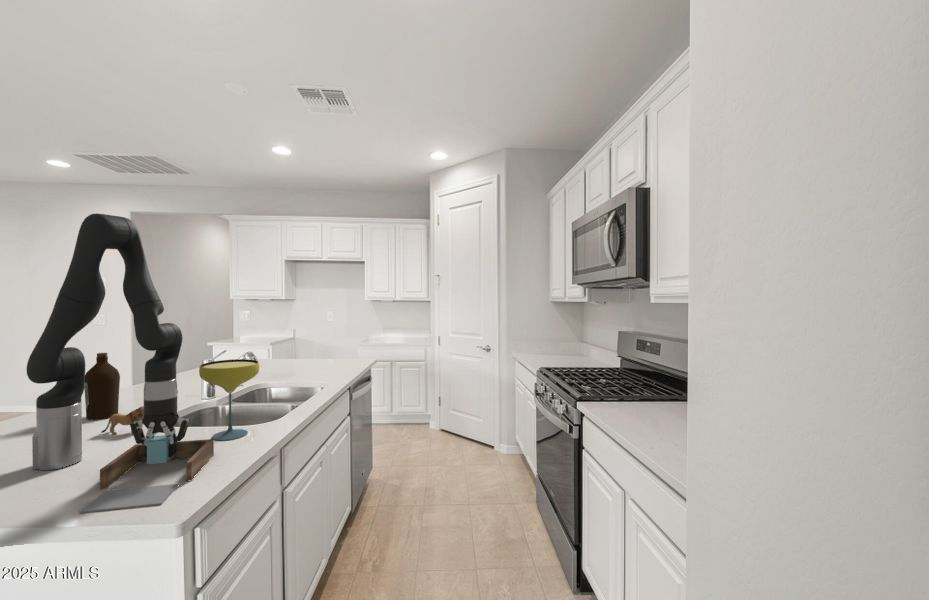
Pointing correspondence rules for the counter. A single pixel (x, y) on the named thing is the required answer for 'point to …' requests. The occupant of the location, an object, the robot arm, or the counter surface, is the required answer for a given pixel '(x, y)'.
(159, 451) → the teal block
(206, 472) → the counter surface
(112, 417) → the lion figurine
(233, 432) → the cocktail glass
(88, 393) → the olive oil
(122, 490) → the rubber mat
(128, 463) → the open-front crate
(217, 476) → the counter surface
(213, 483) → the counter surface
